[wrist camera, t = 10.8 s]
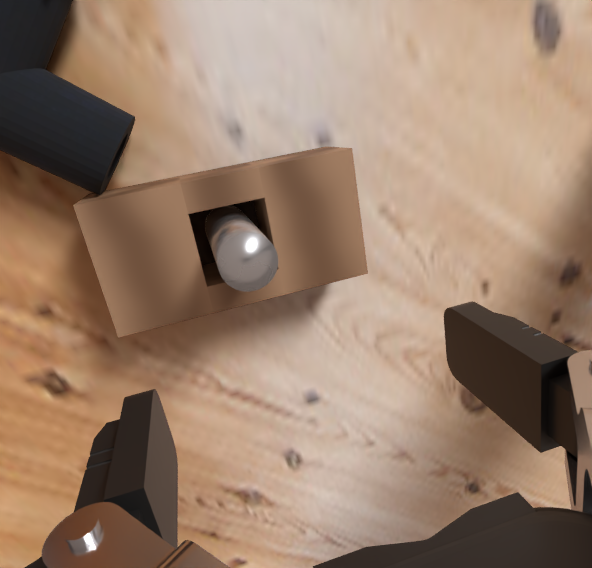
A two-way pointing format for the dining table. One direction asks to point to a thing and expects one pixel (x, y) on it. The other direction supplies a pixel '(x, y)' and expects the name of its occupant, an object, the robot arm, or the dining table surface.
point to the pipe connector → (53, 102)
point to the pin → (240, 249)
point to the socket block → (183, 249)
